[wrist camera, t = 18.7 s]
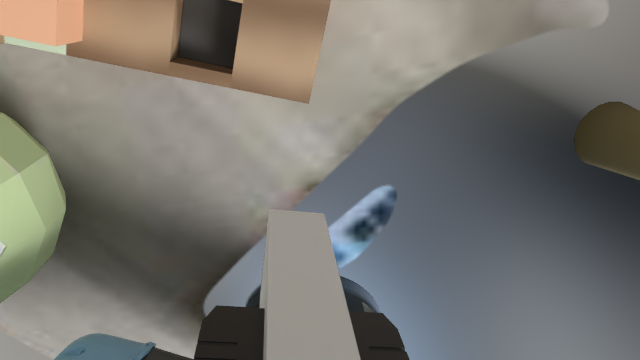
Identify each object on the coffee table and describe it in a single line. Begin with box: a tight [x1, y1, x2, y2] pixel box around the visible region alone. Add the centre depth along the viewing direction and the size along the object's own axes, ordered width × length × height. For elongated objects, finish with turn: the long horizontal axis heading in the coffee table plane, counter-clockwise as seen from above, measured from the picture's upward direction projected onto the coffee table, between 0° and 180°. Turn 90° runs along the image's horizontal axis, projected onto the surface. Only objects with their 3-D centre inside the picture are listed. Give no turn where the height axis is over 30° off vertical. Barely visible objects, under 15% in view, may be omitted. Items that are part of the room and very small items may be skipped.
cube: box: [0, 0, 84, 46], centre depth 29 cm, size 4×4×4 cm
